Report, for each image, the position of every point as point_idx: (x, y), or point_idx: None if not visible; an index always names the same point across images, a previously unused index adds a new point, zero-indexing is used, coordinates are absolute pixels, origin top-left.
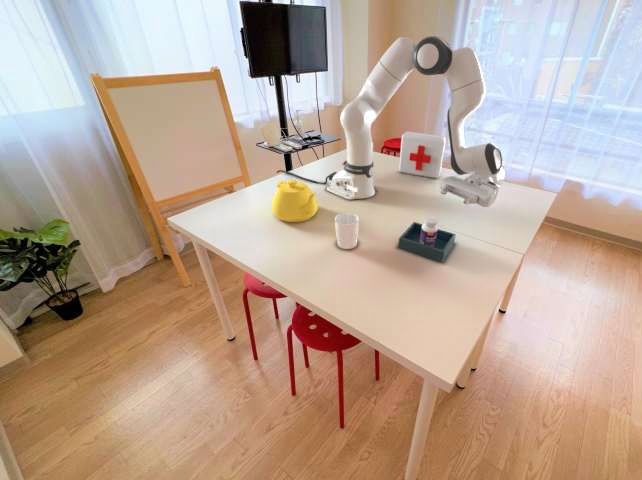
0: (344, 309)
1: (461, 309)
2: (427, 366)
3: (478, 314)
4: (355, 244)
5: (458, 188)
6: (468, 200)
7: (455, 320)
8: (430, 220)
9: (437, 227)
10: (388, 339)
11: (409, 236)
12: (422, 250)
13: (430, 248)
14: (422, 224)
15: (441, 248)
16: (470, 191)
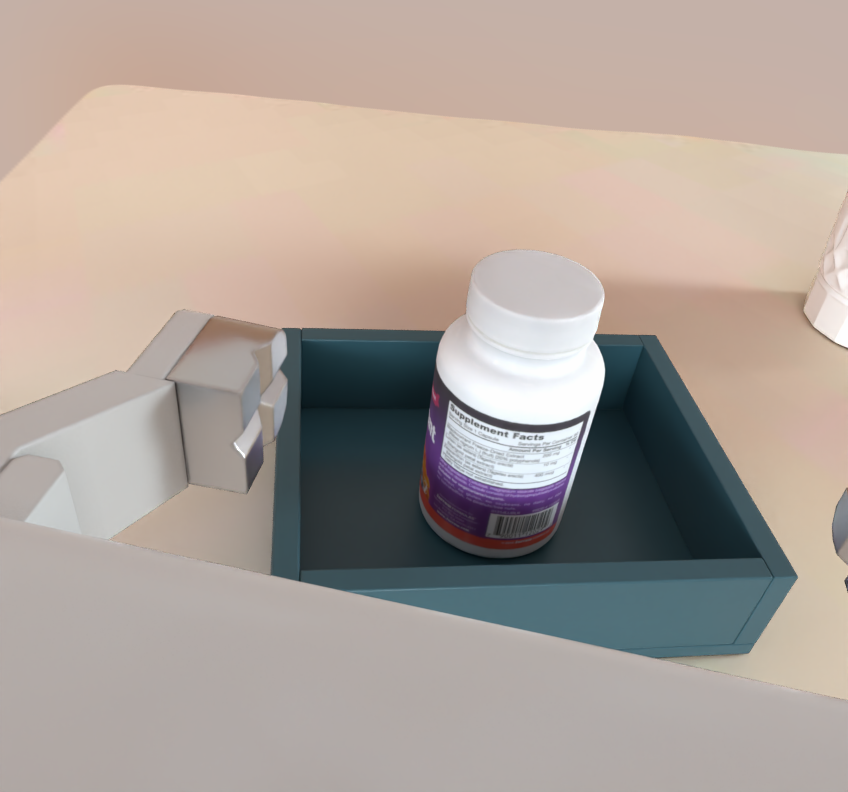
0: (496, 132)
1: (88, 213)
2: (169, 90)
3: (2, 215)
4: (816, 311)
5: (741, 689)
6: (181, 317)
7: (109, 179)
8: (538, 275)
9: (453, 361)
10: (309, 108)
11: (679, 525)
12: None
13: (395, 333)
14: (693, 578)
15: (350, 517)
16: (205, 562)
